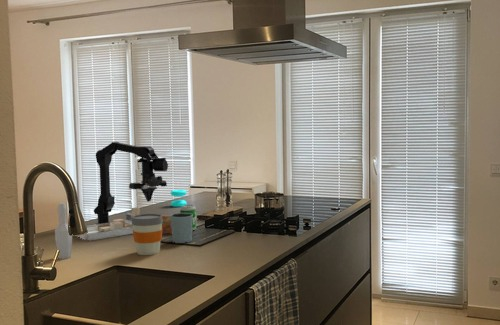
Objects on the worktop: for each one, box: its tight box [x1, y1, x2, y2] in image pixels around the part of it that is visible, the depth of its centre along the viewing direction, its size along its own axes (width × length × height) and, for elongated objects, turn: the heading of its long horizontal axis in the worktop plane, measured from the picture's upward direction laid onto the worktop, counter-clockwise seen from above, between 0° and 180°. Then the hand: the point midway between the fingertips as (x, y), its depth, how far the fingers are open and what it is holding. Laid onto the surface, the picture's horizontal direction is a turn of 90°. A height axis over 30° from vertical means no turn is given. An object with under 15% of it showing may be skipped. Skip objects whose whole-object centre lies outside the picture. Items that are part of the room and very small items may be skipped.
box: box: [77, 226, 101, 241], centre depth 256 cm, size 15×12×4 cm
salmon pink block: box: [112, 218, 126, 226], centre depth 268 cm, size 4×4×3 cm
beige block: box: [110, 221, 123, 230], centre depth 260 cm, size 4×4×3 cm
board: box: [99, 223, 133, 231], centre depth 265 cm, size 13×15×2 cm
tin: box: [162, 215, 172, 235], centre depth 259 cm, size 15×3×8 cm, turn 62°
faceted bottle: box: [54, 202, 73, 260], centre depth 214 cm, size 6×6×22 cm
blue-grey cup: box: [169, 212, 193, 244], centre depth 239 cm, size 10×10×12 cm
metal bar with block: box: [125, 207, 141, 221], centre depth 270 cm, size 20×3×7 cm, turn 38°
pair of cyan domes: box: [170, 189, 188, 208], centre depth 340 cm, size 10×10×10 cm
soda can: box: [179, 204, 197, 232], centre depth 263 cm, size 8×8×12 cm
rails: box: [86, 219, 134, 242], centre depth 262 cm, size 21×31×3 cm
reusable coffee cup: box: [132, 213, 163, 256], centre depth 219 cm, size 13×13×15 cm
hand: (148, 201), depth 274 cm, fingers closed
